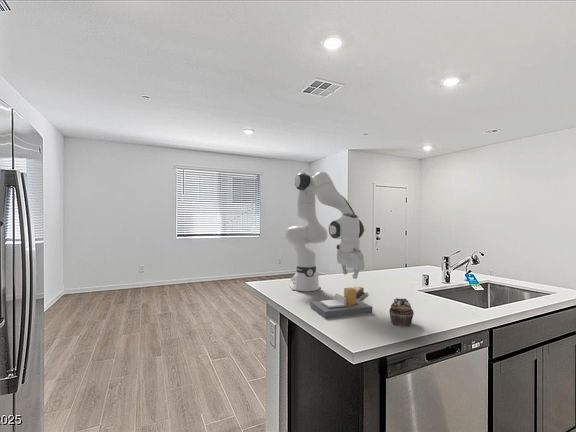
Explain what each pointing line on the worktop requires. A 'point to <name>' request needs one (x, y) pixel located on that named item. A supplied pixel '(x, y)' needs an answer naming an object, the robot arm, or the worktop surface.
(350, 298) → the orange block
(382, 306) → the worktop surface
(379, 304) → the worktop surface
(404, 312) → the cupcake
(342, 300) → the shutter
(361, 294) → the packaged product
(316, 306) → the socket plate
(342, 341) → the worktop surface
